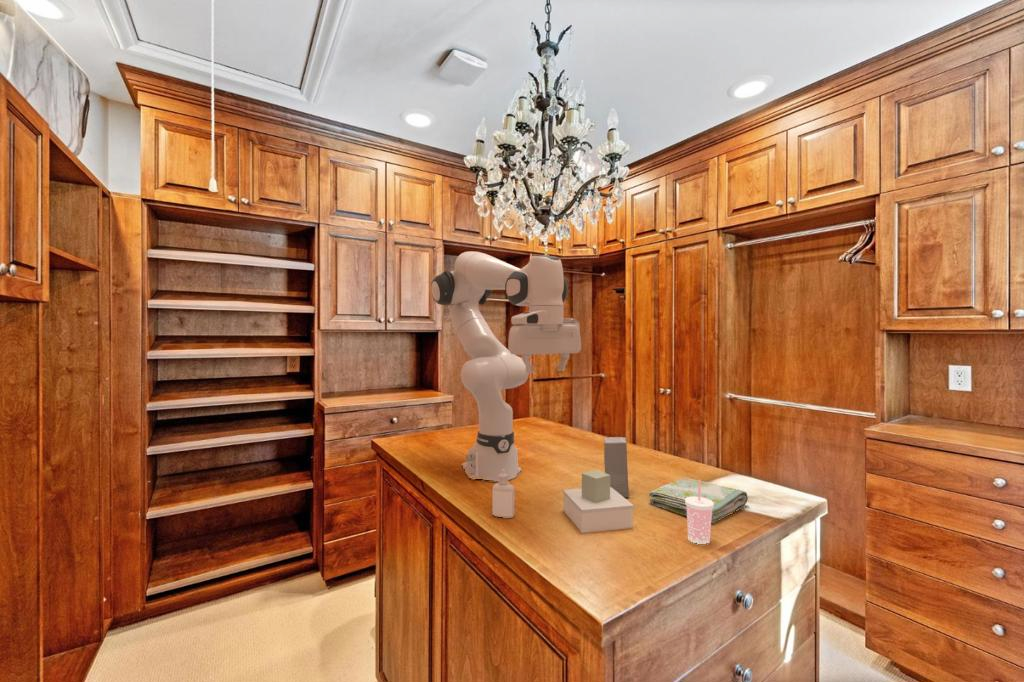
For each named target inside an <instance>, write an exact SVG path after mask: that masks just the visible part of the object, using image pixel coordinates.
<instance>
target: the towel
mask: <svg viewBox="0 0 1024 682" xmlns="http://www.w3.org/2000/svg"><path fill="white" fill-rule="evenodd" d="M698 481H699V479H698V480H697V479H692V478H688V477H684V478H680V479H678V480H676V481H673V482H671V483H667V484H664V485H663V486H660V487H657V488H655V489H652V490H651V491H650V492H649V493H648V495H647V496H648V497H649V498H650V499H649V502H650V504H651V505H653V506H655V507H657V508H662V509H664V510H667V511H670V512H674V513H676V514H679V515H682V516H686V517H687V507H686V504H685V498H687V497H698ZM700 497H703V498H707V499H709V500H711V501H712V502H714V506H713V507H714V508H713V509H712V519H711V523H712V524H715V523H717V522H719V521H720V520H719V519H721V520H722V518H723V517H725V516H726V515H728V514H730V513H732V512H734V511H736V510H738V509H740V510H742V509H743V508H744V507H745V505H746V504H747V502H748V501H749V500H748V499H749V497H748V492H746V491H745V490H741V489H739V488H734V487H733V488H732V487H728V486H724V485H719V484H716V483H710V482H707V481H703V480H702V481H701V494H700ZM725 518H726V517H725ZM723 519H724V518H723ZM718 520H719V521H718ZM716 521H717V522H716ZM714 522H715V523H714Z"/></svg>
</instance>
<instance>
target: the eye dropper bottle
mask: <svg viewBox="0 0 1024 682" xmlns="http://www.w3.org/2000/svg"><path fill="white" fill-rule="evenodd" d="M491 493H492V498H491V499H492V501H491V502H492V503H491V508H492V509H491V511H492V512H491V514H492V516H493V515H494V516H498V517H503V518H502V519H512V518H514V516H515V500H516V499H515V495H516V494H515V486H514V485H513V484H511V483H510V482H509V480H508V474H506V473H505V469H502V473H501V474H499V481H498V482H497V483H495V484H494V485H493V486H492V491H491ZM494 516H493V517H494Z"/></svg>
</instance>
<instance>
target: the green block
mask: <svg viewBox="0 0 1024 682" xmlns="http://www.w3.org/2000/svg"><path fill="white" fill-rule="evenodd" d="M581 488H582V497H583V498H586V499H588V500H590V501H592V502H595V503H598V502H601V501H604V500H607V499H610V475H609V474H606V473H605V472H602V471H601V470H597V469H594V470H590V471H587V472H582V473H581Z"/></svg>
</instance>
